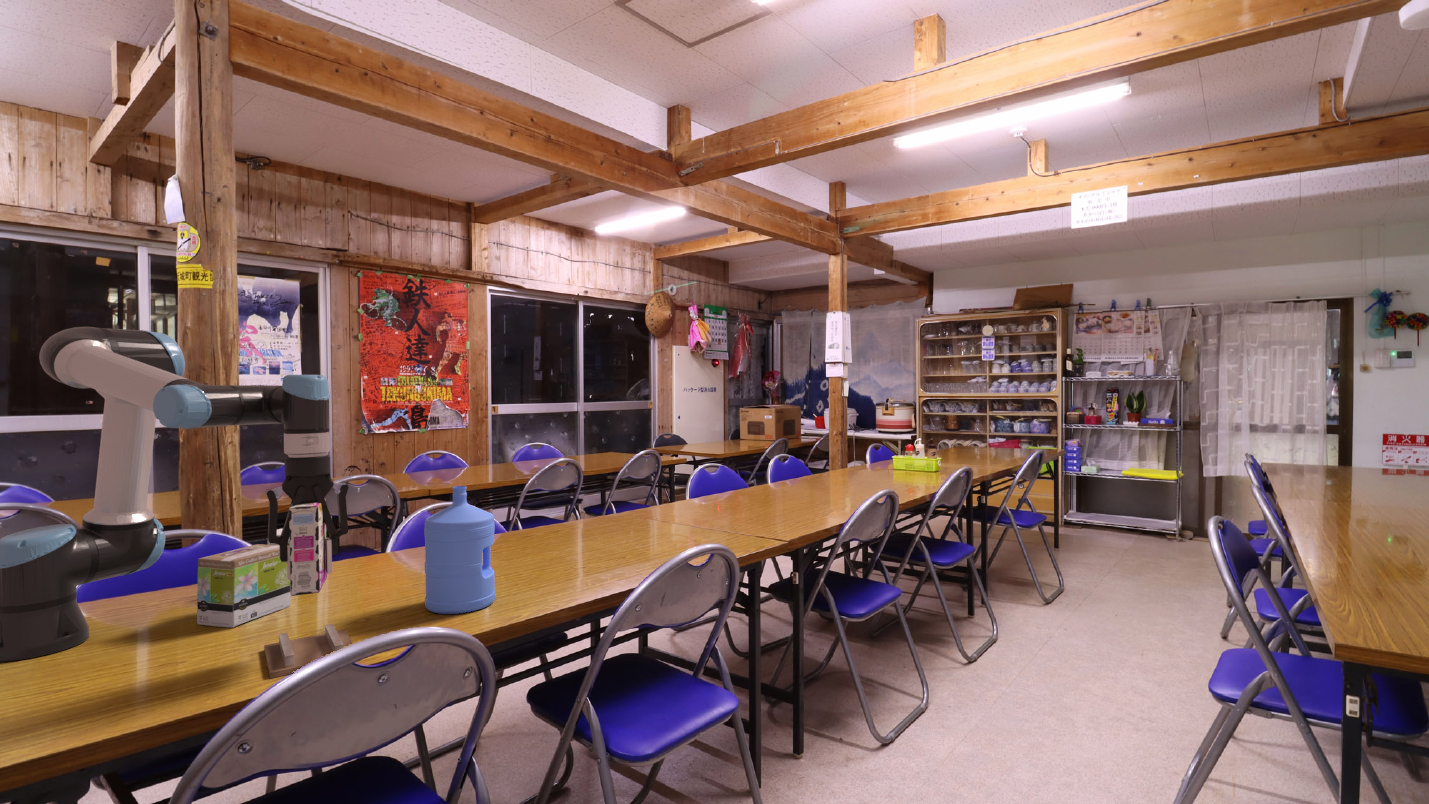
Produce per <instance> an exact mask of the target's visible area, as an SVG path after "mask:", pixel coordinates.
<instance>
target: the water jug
mask: <svg viewBox="0 0 1429 804" xmlns="http://www.w3.org/2000/svg"><path fill="white" fill-rule="evenodd" d="M467 488H468V487H467V486H466V485H459V486H458V485H456V486H452V488H451V489H452V491H453V492H452V503H451V505H449V506H447V507H445V508H443V509H441V510H439V511H437V512H435V513H433V514H432V515H430V516H427V517H426V519H425V520H424V528H423V531H424V532H423V534H424V536H423V537H424V550H425V551H424V552H425V553H424V574H425V598H424V606H425V608H426V610H428V611H429V612H431V613H434V614H440V615H459V613H460V614H464V613H465V614H466V612H467V613H471V611H472V612H476V611H480V610H482V609H485V608H486V607H488V606H490V605H491V604H493V603H494V601H495V600H496V588H495V587H496V585H495V584H496V582H495V580H496V579H495V575H496V574H495V570H494V569H493V568H492V566H491V565H492V563H491V562H492V561H491V559H492V558H491V556H492V555H491V554H492V552H491V551H492V550H491V546H492V545H494V544H495V531H496V527H495V526H496V525H495V524H496V523H495V515H494V514H493V513H491V512H490V511H486V510H484V509H481V508H480V507H476V506H475V505H471V504H469V503H468V500H467V498H468V497H467V496H468V492H467Z"/></svg>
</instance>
